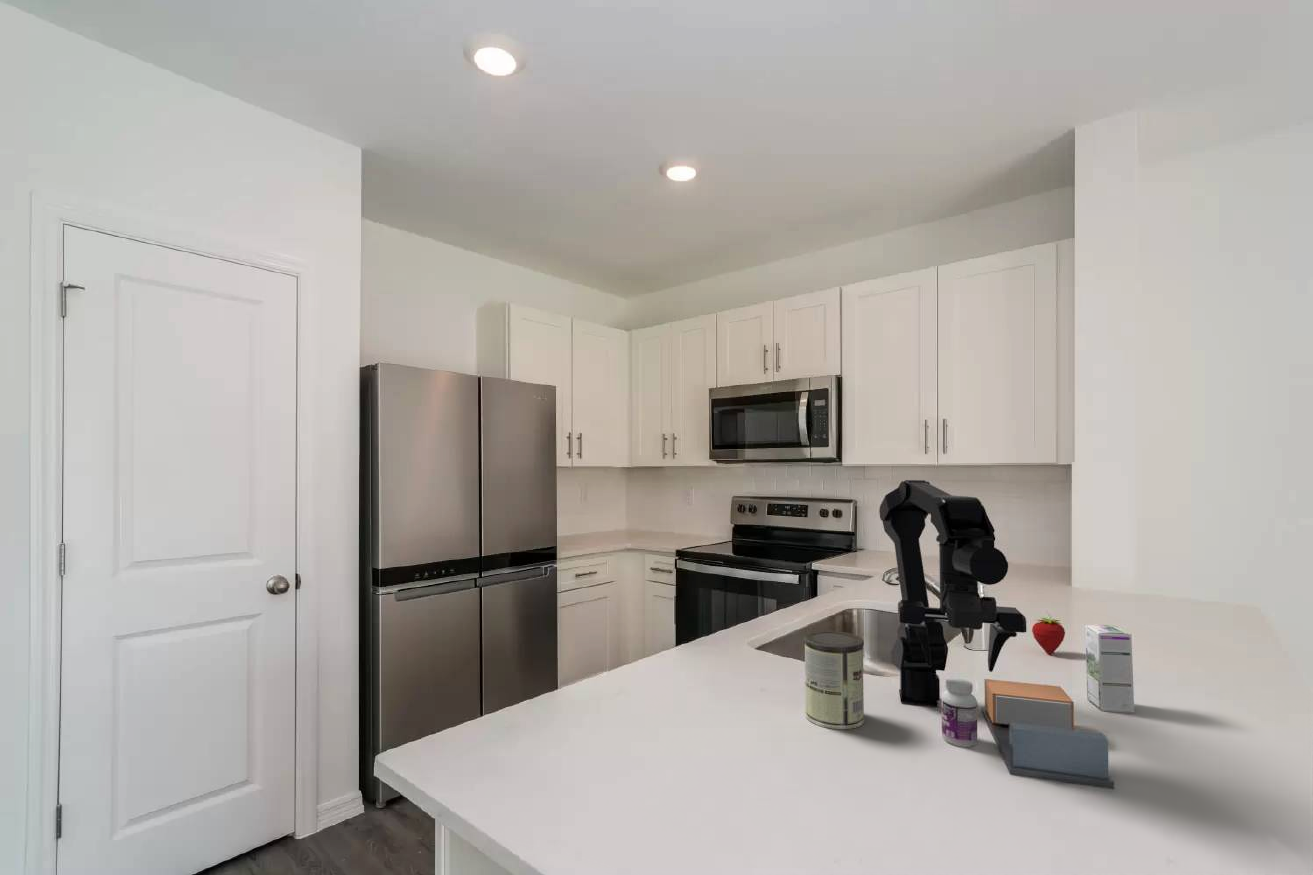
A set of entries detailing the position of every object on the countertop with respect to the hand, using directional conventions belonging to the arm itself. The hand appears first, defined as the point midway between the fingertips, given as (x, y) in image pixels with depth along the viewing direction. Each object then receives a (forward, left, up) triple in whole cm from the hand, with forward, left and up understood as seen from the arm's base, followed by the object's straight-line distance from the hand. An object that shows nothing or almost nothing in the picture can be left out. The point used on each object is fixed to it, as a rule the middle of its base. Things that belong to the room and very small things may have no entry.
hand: (959, 668), depth 105 cm
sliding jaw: (+12, +9, -11) cm, 18 cm away
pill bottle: (0, 0, -12) cm, 12 cm away
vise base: (+12, +2, -12) cm, 17 cm away
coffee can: (-20, +3, -12) cm, 24 cm away
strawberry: (+27, +58, -12) cm, 65 cm away
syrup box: (+29, +25, -12) cm, 40 cm away
